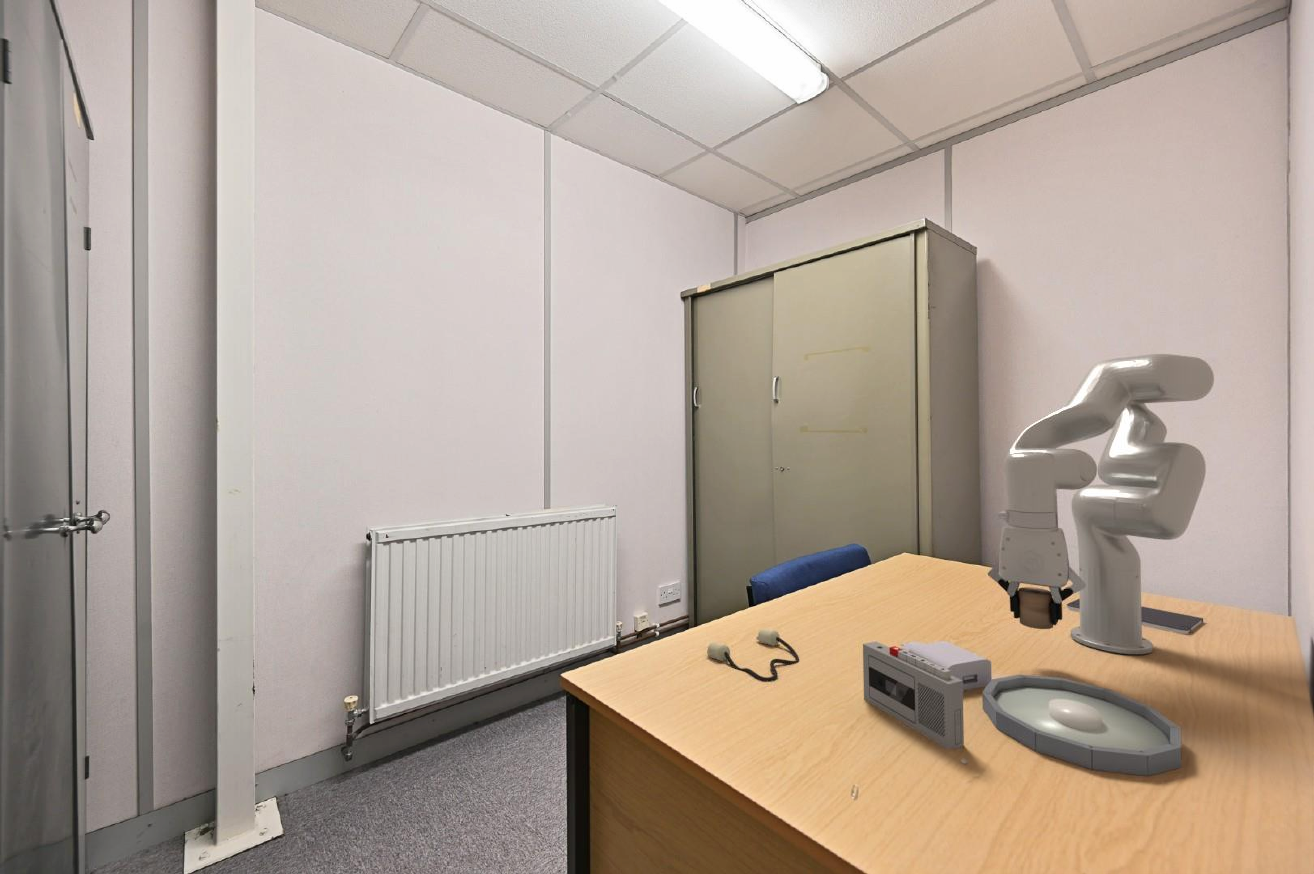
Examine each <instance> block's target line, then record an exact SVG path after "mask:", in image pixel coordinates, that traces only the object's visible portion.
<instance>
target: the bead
mask: <svg viewBox="0 0 1314 874" xmlns="http://www.w3.org/2000/svg"><path fill="white" fill-rule="evenodd" d="M1018 592H1019V618H1018V619H1019V623H1020V625H1022V626H1025V627H1027V628H1031V629H1037V630H1050V629H1053V628H1054V625H1052V624H1051V615H1050V602H1052V598H1053V597H1052V594H1051V592H1050V590H1048V589H1045V588H1040V587H1031V586H1029V587H1028V586H1027V587H1026V586H1025V587H1019V588H1018Z"/></svg>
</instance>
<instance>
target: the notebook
mask: <svg viewBox="0 0 1314 874" xmlns="http://www.w3.org/2000/svg"><path fill="white" fill-rule="evenodd" d="M1066 606H1067V610H1069V611H1073V612H1078V613H1080V597H1079V598H1077V599H1075V600H1073V601H1071V602H1068V603H1066ZM1141 613H1142V627H1147V626H1149V627H1148V628H1151V627H1153V628H1152V629H1157V630H1162V631H1165V630H1168V631H1167V632H1170V631H1172V633H1175V632H1176V634H1179V635H1180V634H1181V635H1188V634H1191V633H1192V631H1193V630H1194V629H1195V628H1197V627H1198V626H1199V625H1201V624H1202V622H1203V623H1204V618H1203V617H1198V616H1193V615H1188V614H1183V613H1178V612H1173V611H1167V610H1162V609H1158V608H1157V609H1156V608H1151V607H1147V606H1142V605H1141ZM1191 630H1192V631H1191Z"/></svg>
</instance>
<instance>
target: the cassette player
mask: <svg viewBox="0 0 1314 874" xmlns="http://www.w3.org/2000/svg"><path fill="white" fill-rule="evenodd" d="M862 657H863V658H862V662H863V666H862V669H863V671H862V672H863V700H864V701H866V702H868V703H870V704H871V705H873V706H874V707H876V708H878V709H879V710H882V711H883V712H885V713H886V714H888V715H889V716H891V717H893V718H895V719H896V720H898V721H900V722H901V723H904V725H906V726H909V728H912V729H913V730H915V731H917V732H918V733H920V734H921V735H923V736H925V737H926V738H928V739H930V740H931V741H933V742H934V743H936V744H938V745H940V746H941V747H943V748H945V749H947V750H948V751H953V750H956V749H958V748H961V747H964V746H965V740H964V738H965V735H964V733H965V732H964V730H965V729H964V690H963V680H960V679H958V678H956V677H954V676H952V675H951V671H950V670H948V669H946V668H943V667H941V666H939V665H937V664H934V663H932V662H930V661H927V660H925V659H923V658H921V657H918V656H916V655H914V654H912V653H909V652H907V651H905V650H903V649H901V648H900V647H898V646H896V645H894V646H891V647H890V646H888V645H885V644H882V643H880V642H878V641H871V642H866V643H862Z"/></svg>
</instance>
